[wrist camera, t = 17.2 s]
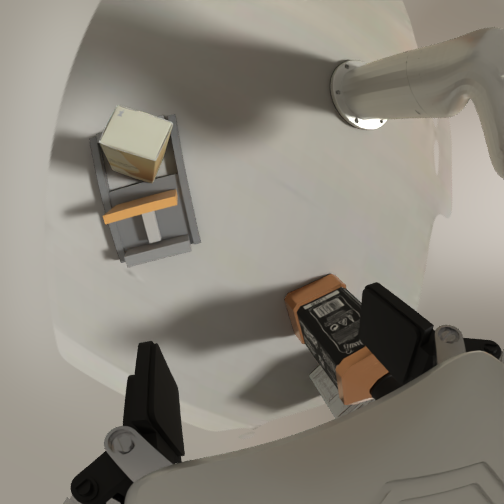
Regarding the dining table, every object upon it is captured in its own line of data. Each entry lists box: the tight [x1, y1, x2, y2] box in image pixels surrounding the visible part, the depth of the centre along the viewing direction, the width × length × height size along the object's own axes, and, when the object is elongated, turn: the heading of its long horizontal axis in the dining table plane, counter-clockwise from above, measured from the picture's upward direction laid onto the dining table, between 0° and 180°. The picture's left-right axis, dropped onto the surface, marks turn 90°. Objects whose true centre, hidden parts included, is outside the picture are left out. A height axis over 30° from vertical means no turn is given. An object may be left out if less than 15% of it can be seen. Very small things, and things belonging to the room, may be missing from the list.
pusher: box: [103, 189, 178, 243], centre depth 32 cm, size 9×6×7 cm
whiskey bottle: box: [284, 274, 403, 405], centre depth 34 cm, size 10×10×32 cm
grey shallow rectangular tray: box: [90, 114, 201, 267], centre depth 33 cm, size 12×18×4 cm, turn 9°
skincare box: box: [99, 105, 173, 183], centre depth 27 cm, size 6×4×12 cm
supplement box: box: [309, 365, 375, 419], centre depth 50 cm, size 13×13×18 cm
